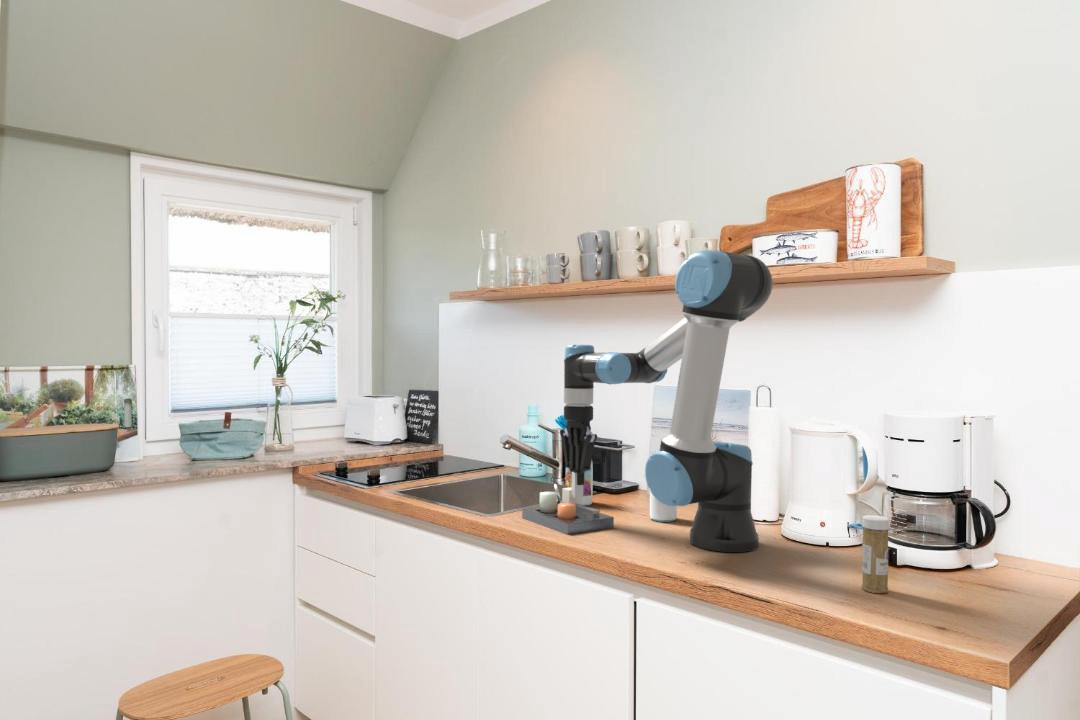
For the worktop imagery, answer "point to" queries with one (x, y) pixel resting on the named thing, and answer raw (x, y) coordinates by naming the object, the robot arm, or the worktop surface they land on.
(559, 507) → the button
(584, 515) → the grey base platform
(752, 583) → the worktop surface
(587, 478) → the milk bottle
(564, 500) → the slider
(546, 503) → the button
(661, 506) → the can
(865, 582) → the spice jar
